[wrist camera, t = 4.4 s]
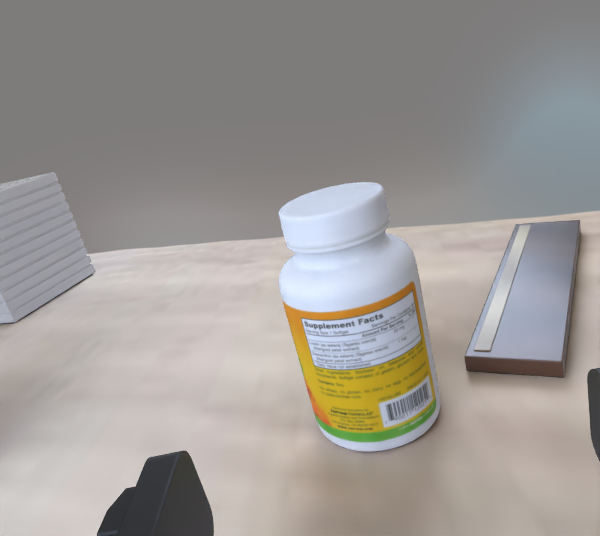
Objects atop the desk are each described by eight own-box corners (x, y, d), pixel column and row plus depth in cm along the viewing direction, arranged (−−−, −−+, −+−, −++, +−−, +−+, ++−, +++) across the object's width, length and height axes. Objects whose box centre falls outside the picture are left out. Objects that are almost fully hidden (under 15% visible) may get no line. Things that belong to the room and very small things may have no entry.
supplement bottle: (338, 375, 26) (290, 187, 23) (449, 376, 24) (414, 168, 21) (300, 451, 22) (234, 231, 18) (433, 461, 19) (384, 212, 16)
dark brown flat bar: (564, 378, 22) (562, 360, 22) (466, 371, 24) (463, 355, 24) (580, 230, 35) (579, 218, 35) (516, 234, 37) (515, 223, 37)
